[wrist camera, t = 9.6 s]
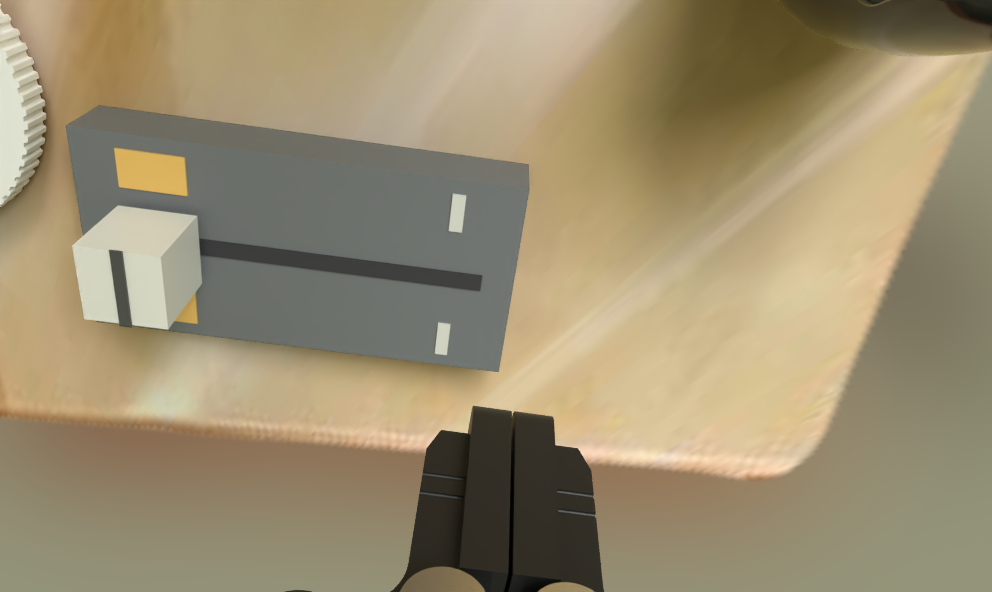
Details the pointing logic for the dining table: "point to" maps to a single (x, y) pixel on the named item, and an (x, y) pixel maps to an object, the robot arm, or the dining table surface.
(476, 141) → the dining table surface
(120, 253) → the fader knob
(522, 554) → the robot arm
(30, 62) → the plastic lid
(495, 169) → the fader slider base
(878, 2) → the pump dispenser
